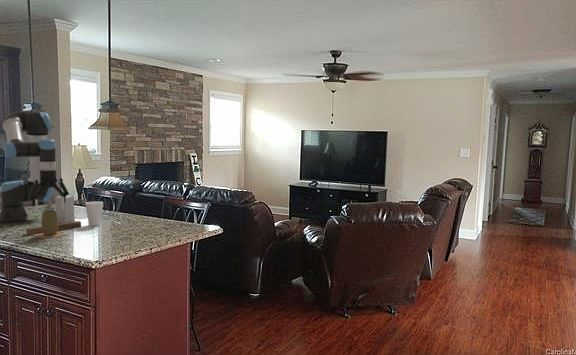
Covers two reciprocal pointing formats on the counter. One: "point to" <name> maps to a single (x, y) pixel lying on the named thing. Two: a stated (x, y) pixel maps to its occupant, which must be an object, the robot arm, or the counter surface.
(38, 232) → the rail
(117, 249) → the counter surface
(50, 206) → the squeeze bottle
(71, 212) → the skincare box
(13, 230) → the counter surface
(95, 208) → the foam cup
